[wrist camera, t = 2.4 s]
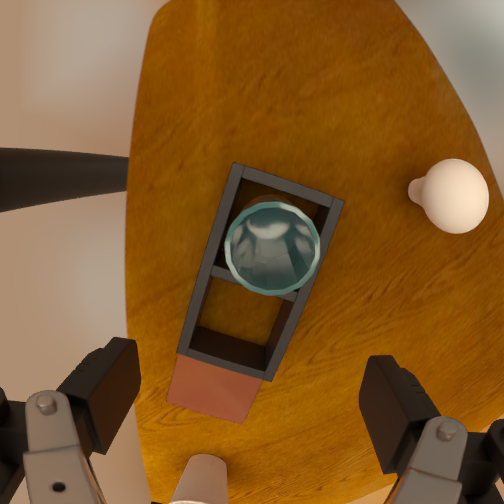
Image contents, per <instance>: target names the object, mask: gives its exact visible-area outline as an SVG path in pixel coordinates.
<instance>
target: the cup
mask: <svg viewBox="0 0 504 504" xmlns="http://www.w3.org/2000/svg"><path fill="white" fill-rule="evenodd" d="M224 247H225V258H226V263H227V265H228V267H229V269H230V271H231V273H232V275H233V276H234V278H235V279H236V280H237V281H238V282H240V283H241V284H242V285H243V286H244V287H246V288H247V289H248V290H250V291H253V292H256V293H259V294H263V295H266V296H269V295H284V294H287V293H289V292H291V291H293V290H295V289H297V288H299V287H301V286H302V285H303V284H304V283H305V282H306V281H307V280H308V279H309V278H310V277H311V276H312V275H313V273H314V272H315V269H316V266H317V264H318V261H319V259H320V237H319V235H318V232H317V230H316V228H315V226H314V224H313V222H312V220H311V219H310V218H309V217H308V216H306V215H305V214H304V213H303V212H302V211H301V210H300V209H299V208H298V207H296V206H295V205H294V204H293V203H292V202H291V201H289V200H288V199H287V198H284V197H281V196H278V195H274V194H267V195H260V196H258V197H256V198H254V199H252V200H250V201H248V203H247V204H246V205H245V206H244V207H243V208H242V209H241V211H240V212H239V213H238V215H237V216H236V218H235V219H234V221H233V222H232V224H231V225H230V227H229V230H228V233H227V237H226V240H225V243H224Z"/></svg>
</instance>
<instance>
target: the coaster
mask: <svg viewBox="0 0 504 504" xmlns="http://www.w3.org/2000/svg"><path fill="white" fill-rule="evenodd" d="M262 381H263V380H262V379H258V378H254V377H251V376H247V375H244V374H240V373H237V372H234V371H230V370H227V369H224V368H220V367H217V366H214V365H211V364H208V363H205V362H202V361H199V360H196V359H193V358H190V357H187V356H184V355H181V354H178V357H177V361H176V365H175V369H174V372H173V376H172V380H171V384H170V388H169V392H168V396H167V400H166V402H169V403H172V404H175V405H178V406H181V407H184V408H187V409H190V410H193V411H196V412H199V413H202V414H206V415H209V416H213V417H216V418H219V419H223V420H227V421H230V422H234V423H238V424H242V425H243V423H244V420H245V418H246V416H247V414H248V412H249V410H250V408H251V405H252V403H253V401H254V399H255V397H256V394H257V392H258V390H259V388H260V386H261V383H262Z"/></svg>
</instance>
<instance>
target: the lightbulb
mask: <svg viewBox="0 0 504 504" xmlns="http://www.w3.org/2000/svg"><path fill="white" fill-rule="evenodd" d="M408 195H409V197H410V199H411V200H412V201H413V202H415V203H417V204H419V205H420V206H421V207H423V208H424V211H425V213H426V215H427V217H428V218H429V219H430V221H431V222H432V223H433V224H435V225H436V226H437V227H438V228H440V229H441V230H443V231H446V232H449V233H464V232H468V231H470V230H472V229H474V228H475V227H476V226H477V225H478V224H479V223H480V222H481V221H482V220H483V218H484V216H485V214H486V211H487V208H488V203H489V194H488V188H487V185H486V182H485V180H484V178H483V176H482V175H481V173H480V172H479V171H478V170H477V169H476V168H475V167H474V166H472V165H471V164H470V163H468V162H465V161H463V160H460V159H446V160H443V161H440V162H439V163H437V164H436V165H434V166H433V167H432V168H431V169H430V170H429V171H428V173H427V174H426V176H424V177H422V178H419V179H415V180H413V181H412V182H411V183H410V184H409V187H408Z"/></svg>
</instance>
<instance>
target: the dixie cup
mask: <svg viewBox="0 0 504 504" xmlns="http://www.w3.org/2000/svg"><path fill="white" fill-rule="evenodd" d="M169 504H228V488H227V467H226V464H225V462H224V461H223V460H222V459H220V458H218V457H216V456H213V455H209V454H197V455H194V456H192V457H191V458H190V459H189V461H188V463H187V465H186V467H185V470H184V472H183V474H182V476H181V479H180V481H179V483H178V485H177V488H176V490H175V492H174V494H173V496H172V499H171V501H170V503H169Z"/></svg>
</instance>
